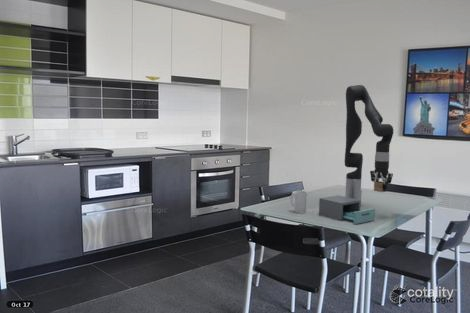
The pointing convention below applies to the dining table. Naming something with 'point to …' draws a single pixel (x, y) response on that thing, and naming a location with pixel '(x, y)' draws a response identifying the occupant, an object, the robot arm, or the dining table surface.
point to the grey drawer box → (338, 206)
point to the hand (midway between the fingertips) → (380, 190)
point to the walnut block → (378, 186)
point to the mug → (299, 201)
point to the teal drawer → (360, 215)
